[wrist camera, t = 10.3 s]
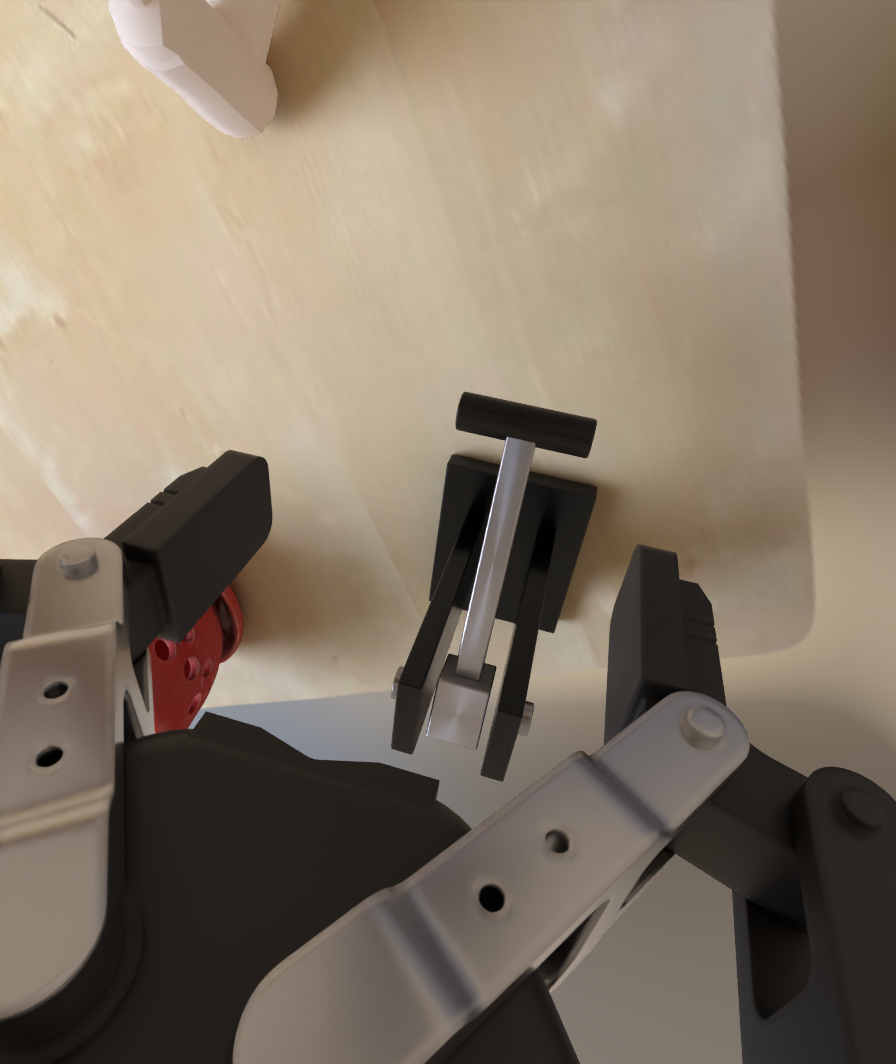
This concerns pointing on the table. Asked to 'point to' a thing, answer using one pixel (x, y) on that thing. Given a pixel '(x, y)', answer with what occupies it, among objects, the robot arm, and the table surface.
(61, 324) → the table surface
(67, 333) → the table surface
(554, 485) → the bracket
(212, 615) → the flower pot
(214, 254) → the table surface
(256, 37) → the faucet
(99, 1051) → the robot arm
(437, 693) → the lever
